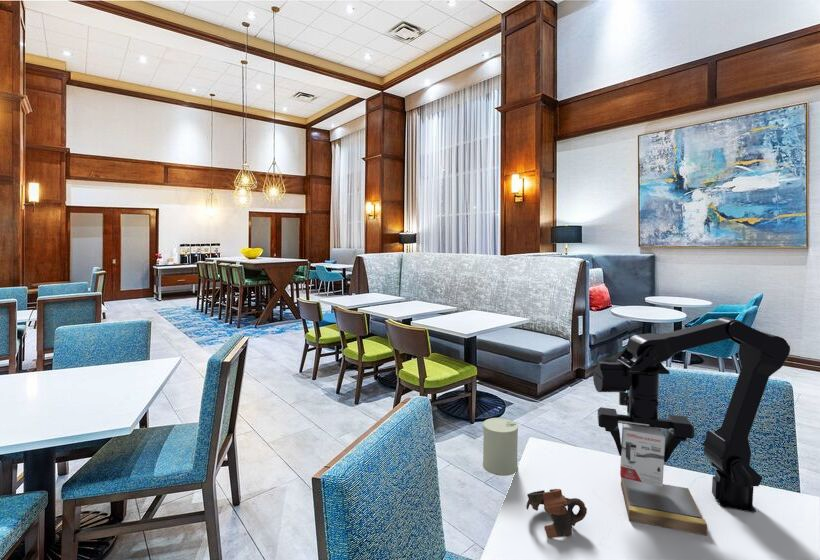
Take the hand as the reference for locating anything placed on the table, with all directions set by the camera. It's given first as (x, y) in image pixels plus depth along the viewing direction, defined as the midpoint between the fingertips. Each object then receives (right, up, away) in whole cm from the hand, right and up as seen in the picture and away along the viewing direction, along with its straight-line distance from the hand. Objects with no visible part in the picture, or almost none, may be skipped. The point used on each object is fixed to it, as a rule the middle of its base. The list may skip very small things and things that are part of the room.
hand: (642, 458), depth 95 cm
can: (-29, -9, +16) cm, 34 cm away
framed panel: (+2, -10, -3) cm, 11 cm away
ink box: (0, -5, 0) cm, 5 cm away
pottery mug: (-23, -11, -8) cm, 26 cm away
